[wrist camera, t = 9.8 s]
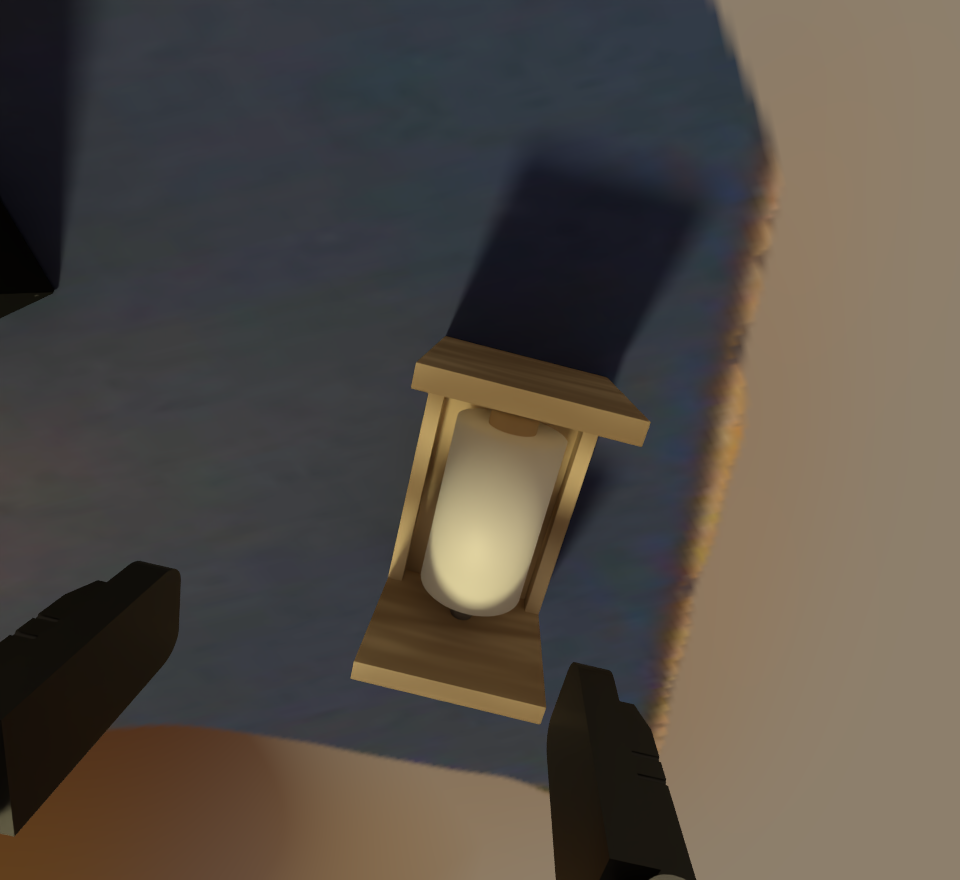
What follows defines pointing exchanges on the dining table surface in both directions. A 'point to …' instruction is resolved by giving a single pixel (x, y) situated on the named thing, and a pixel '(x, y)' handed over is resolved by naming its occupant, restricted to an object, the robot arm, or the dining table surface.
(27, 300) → the tissue box
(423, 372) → the holder
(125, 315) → the dining table surface
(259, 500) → the dining table surface
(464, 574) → the cylinder
